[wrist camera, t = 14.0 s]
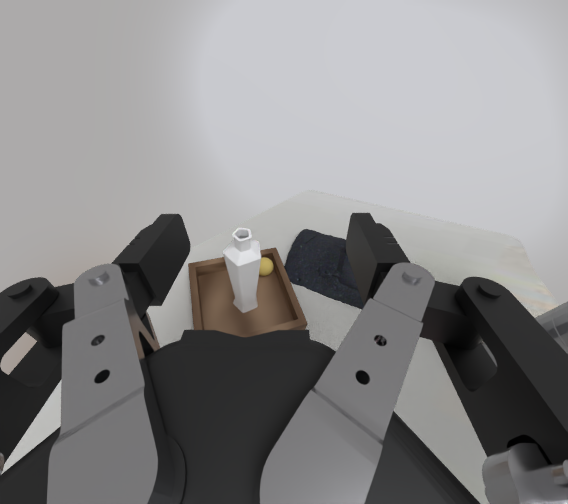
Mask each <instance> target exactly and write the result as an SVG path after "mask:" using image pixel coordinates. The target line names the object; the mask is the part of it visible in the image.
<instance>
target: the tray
mask: <svg viewBox="0 0 568 504" xmlns="http://www.w3.org/2000/svg"><path fill="white" fill-rule="evenodd" d="M260 253H261V258H263V257H266V258H269V259H270V260H271V261H272V262H273V266H274V267H273V271H272V272H271V273H270V274H269V275H267V276H261V275H259V277H258V284H257V292H256V297H257V305H258V307H257V308H255V309H252V310H250V311H248V312H245V313H242V312H241V311H240V310H239V309H238V308H237V307H236V306H235V305H234V304H233V302H234V299H235V295H234V292H233V288H232V284H231V281H230V277H229V273H228V270H227V266H226V262H225V259H224V257H222V258H217V259H211V260H206V261H200V262H195V263H189V264H188V266H189V278H190V289H191V301H192V313H193V324H194V330H217V331H221V332H225V333H229V334H233V335H237V336H240V337H250V336H255V335H259V334H263V333H267V332H272V331H276V330H305V328H306V326H307V321H306V319H305V317H304V314H303V312H302V309H301V307H300V304H299V302H298V300H297V297H296V295H295V292H294V290H293V288H292V285H291V283H290V280H289V278H288V275H287V273H286V271H285V268H284V266H283V263H282V261H281V258H280V256H279V254H278V251H277V249H276V248H271V249H266V250H260Z"/></svg>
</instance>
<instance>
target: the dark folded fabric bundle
mask: <svg viewBox="0 0 568 504" xmlns="http://www.w3.org/2000/svg"><path fill="white" fill-rule="evenodd" d="M284 268H285V271H286V273H287V275H288V278H289V280H290V282H292V283H293V284H296V285H300V286H304V287H306V288H307V289H310V290H312V291H314V292H318V293H320V294H322V295H324V296H327V297H329V298H332V299H334V300H338V301H341V302H343V303H346V304H349V305H351V306H354V307H357V308H360V309H363V308H364V305H363V302H362V299H361V296H360V293H359V290H358V287H357V284H356V281H355V278H354V274H353V271H352V268H351V265H350V262H349V259H348V256H347V253H346V240H345V239H342V238H337V237H333V236H330V235H324V234H321V233H319V232H316V231H313V230H308V229H304V230H302V231H301V232H300V233H299V235H298V236H297V237H296V239H295V241H294V243H293V245H292V248H291V250H290V252H289V254H288V257H287V263H286V264H285V266H284Z"/></svg>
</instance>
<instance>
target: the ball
mask: <svg viewBox="0 0 568 504" xmlns="http://www.w3.org/2000/svg"><path fill="white" fill-rule="evenodd" d="M273 267H274V266H273V262H272V261H271V260H270V259H269V258H266V257H263V258H261V262H260V270H259V275H261V276H267V275H269V274H270V273H271V272H272V271H273Z"/></svg>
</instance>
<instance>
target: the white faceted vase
mask: <svg viewBox="0 0 568 504" xmlns="http://www.w3.org/2000/svg"><path fill="white" fill-rule="evenodd" d="M232 236H233V237H234V240H233V241H232V242H231V243H230V244H229V245H228V246H227V247H226V248H225V250H224V251H223V255H224V259H225V262H226V266H227V270H228V273H229V277H230V281H231V284H232V288H233V292H234V295H235V299H234V302H233V304H234V305H235V306H236V307H237V308H238V309H239V310H240V311H241V312H242V313H245V312H248V311H250V310H252V309H255V308H257V307H258V305H257V297H256V292H257V284H258V277H259V270H260V262H261V253H260V247H259V242H258V241H257V240H251V237H252V236H251V230H250V229H245V228H237V229H236V231H235V232H234V233H233V234H232Z"/></svg>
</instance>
